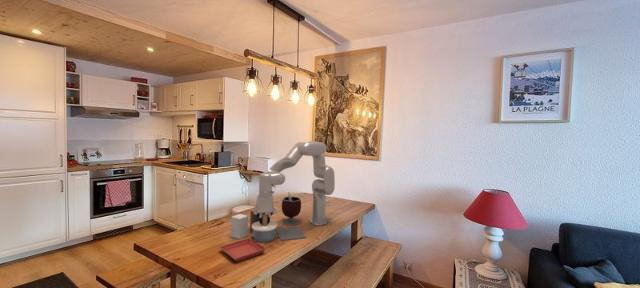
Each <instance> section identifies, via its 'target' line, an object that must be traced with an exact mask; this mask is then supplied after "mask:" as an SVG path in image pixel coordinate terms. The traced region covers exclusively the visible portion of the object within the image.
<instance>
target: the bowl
mask: <svg viewBox="0 0 640 288" xmlns="http://www.w3.org/2000/svg"><path fill="white" fill-rule="evenodd" d="M276 235H277V233H276V229H274V230H271V231H264V232H262V231H255V230H253V232H252V236H253V241H255V242H257V243H268V242H272V241H273V240H274V239H275V237H276Z"/></svg>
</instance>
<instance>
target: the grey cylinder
mask: <svg viewBox="0 0 640 288" xmlns="http://www.w3.org/2000/svg"><path fill="white" fill-rule="evenodd" d="M255 209H256V207H255V208H250V218H249V220H250V221H249V232H251V233H253V229H252V224H253V223H255V222H258V221H259V217H258V216H257V215H255V214H254V213H253V212H254V210H255ZM263 214H266V213H262V215H263Z"/></svg>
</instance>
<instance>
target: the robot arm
mask: <svg viewBox="0 0 640 288" xmlns="http://www.w3.org/2000/svg"><path fill="white" fill-rule="evenodd" d="M327 149H328V148H327V145H326V144H325V143H324V142H321V141H312V140H311V141H307V142H302V141H298V142H297V143H295V144H294V146H293V147H292V148H291V149H290V150H289V152H288V153H287V154H286V156H284V157H282V158H280V160H278V161H276V162H275V163H274V164H273V165H271V167H270V168H269V169H268V170H267V172H262V173H260V174H259V178H258V179H259V180H258V182H259V183H258V184H259V185H258V195H257V197H256V203H255V208H256V209H255V210H254V212H253V213H254V214H255V215H257V216H258V217H259V223H260V224H261V225H262V213H265V214H266V213H267V215H268V224H269V222H270V221H271V217H272V216H273V215H274V214H275V213H277V210H276V209H275V207H274V206H275V205H274V196H273V195H274V194H275V191H273V190H272V189H273V185H274V186H279V185H283V184H284V183H286V176H285V175H284V173H282V171H284V170H286V169H289V168H294V167H295V166H296V165H297V164H298V163H299V161H300V160H301V158H303V156H306V157H307V156H308V157H310V156H311V157H312V161H313V162H312V163H313V164H312V165H313V175H314V177H315V178H316V179H315V180H313V181H312V183H311V189H312V190H311V191H312V208H311V210H312V211H311V212H312V215H311V219H310V220H309V223H310V224H311V225H314V226H324V225H327V224H328V221H330V220H332V216H328V215H327V216H326V212H327V211H326V210H327V209H326V208H327V207H326V206H327V205H326V203H327V197H326V196H331V195H333V193H334V192H335V187H336V185H335V170H334V168H333V167H332V166H330V165H327V164H326V158H325V156H326V155H325V153H327ZM317 178H318V179H317Z"/></svg>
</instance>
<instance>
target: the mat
mask: <svg viewBox="0 0 640 288" xmlns="http://www.w3.org/2000/svg"><path fill="white" fill-rule="evenodd" d="M276 235H277V236H278V239H280V242H283V241H284V242H285V241H286V242H287V241H293V240H301V239H308V237H307V236H306V234H305V233H304V232H303V230H302V229H301V228H300V227H299V226H298V225H291V226H284V227H282V226H281V227H277V228H276Z"/></svg>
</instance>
